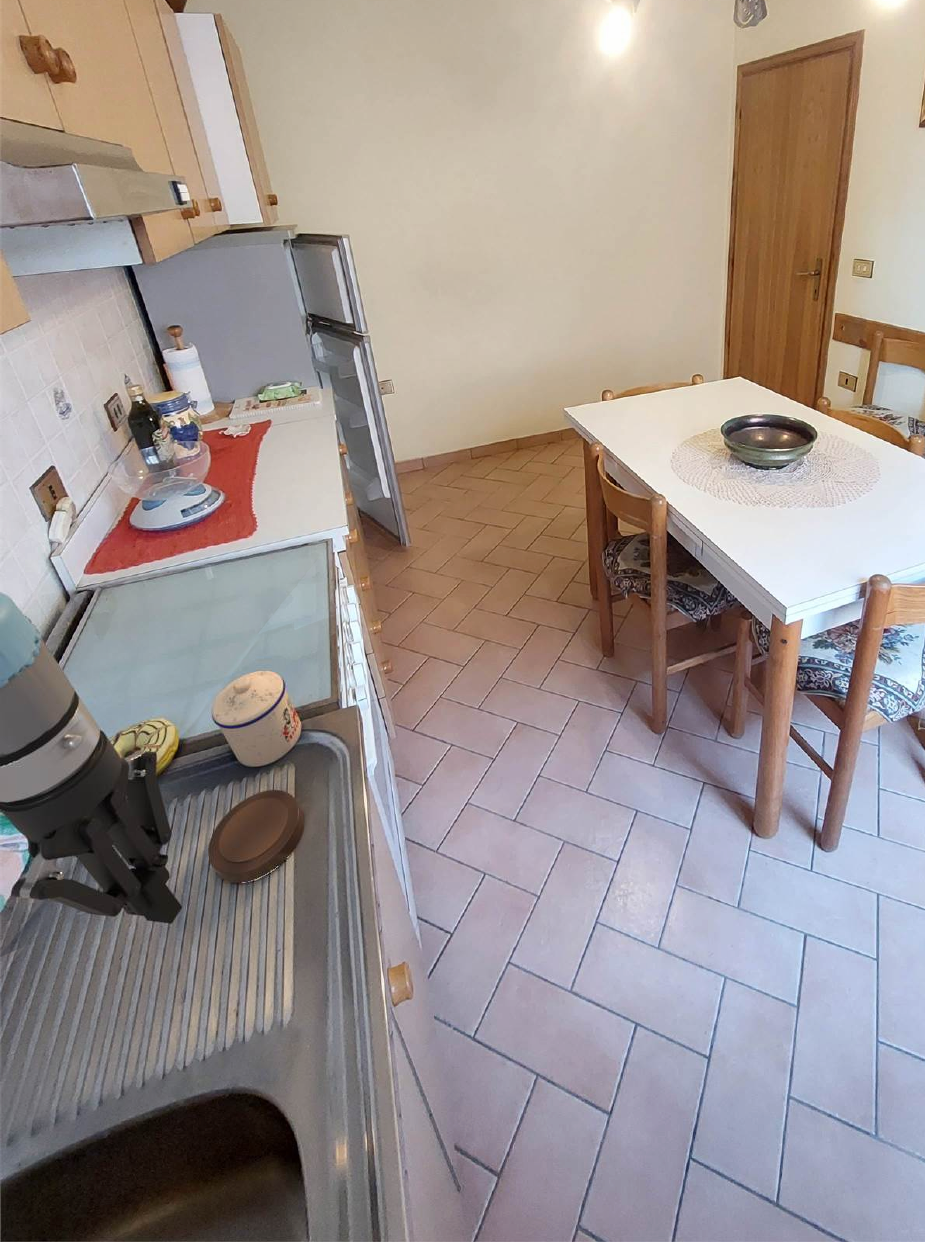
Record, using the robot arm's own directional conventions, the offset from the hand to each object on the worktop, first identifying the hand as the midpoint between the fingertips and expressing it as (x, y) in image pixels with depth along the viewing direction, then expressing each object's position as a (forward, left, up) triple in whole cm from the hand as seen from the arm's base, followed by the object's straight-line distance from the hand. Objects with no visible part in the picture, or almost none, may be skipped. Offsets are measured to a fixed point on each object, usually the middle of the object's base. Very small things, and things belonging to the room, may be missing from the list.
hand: (164, 913), depth 61 cm
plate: (0, +11, -7) cm, 14 cm away
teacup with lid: (-7, +26, -8) cm, 28 cm away
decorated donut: (-23, +20, -8) cm, 32 cm away
